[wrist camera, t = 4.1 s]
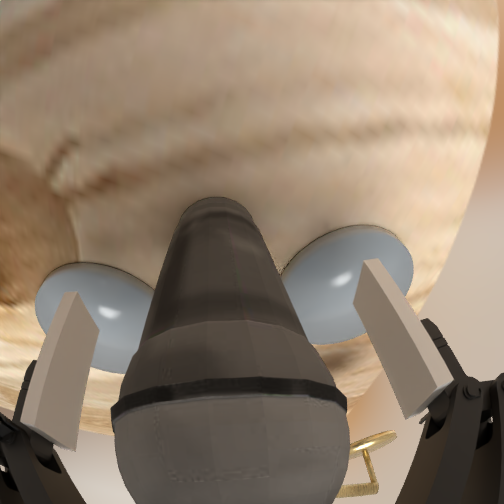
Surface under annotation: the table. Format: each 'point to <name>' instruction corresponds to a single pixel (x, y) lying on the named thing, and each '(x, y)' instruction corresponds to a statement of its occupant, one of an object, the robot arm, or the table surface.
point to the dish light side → (340, 279)
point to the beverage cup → (227, 380)
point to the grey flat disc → (101, 308)
